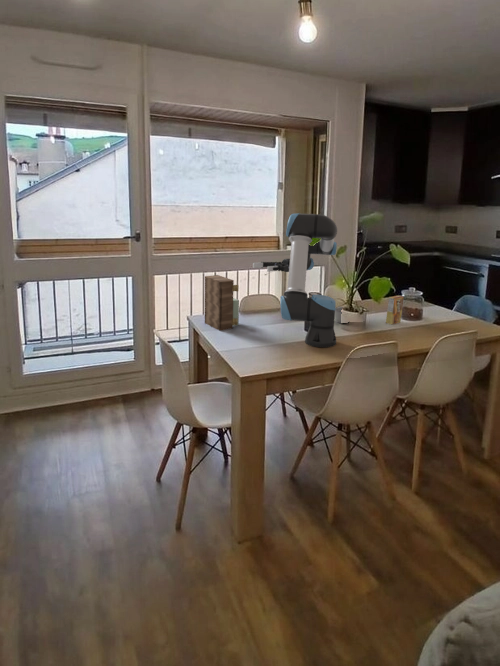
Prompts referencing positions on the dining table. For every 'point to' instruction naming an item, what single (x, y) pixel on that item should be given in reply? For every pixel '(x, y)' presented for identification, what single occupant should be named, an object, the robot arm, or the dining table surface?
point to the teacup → (338, 314)
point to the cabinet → (219, 302)
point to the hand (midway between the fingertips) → (260, 267)
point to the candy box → (394, 309)
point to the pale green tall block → (236, 309)
